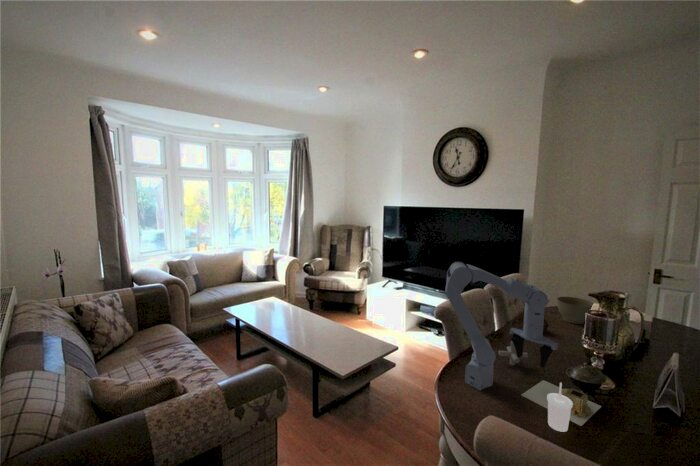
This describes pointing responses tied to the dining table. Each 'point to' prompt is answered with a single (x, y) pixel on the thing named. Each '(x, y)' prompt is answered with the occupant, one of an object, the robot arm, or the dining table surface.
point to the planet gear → (579, 403)
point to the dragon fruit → (543, 325)
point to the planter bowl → (573, 309)
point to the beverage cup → (559, 410)
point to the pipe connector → (512, 354)
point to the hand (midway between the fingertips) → (531, 361)
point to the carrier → (544, 388)
